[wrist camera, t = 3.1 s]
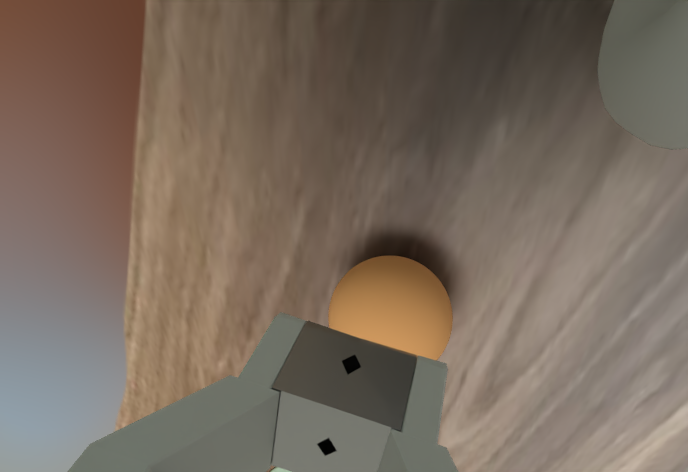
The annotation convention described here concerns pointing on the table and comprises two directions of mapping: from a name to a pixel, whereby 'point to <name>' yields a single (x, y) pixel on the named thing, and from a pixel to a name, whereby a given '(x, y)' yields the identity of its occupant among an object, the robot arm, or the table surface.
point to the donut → (647, 70)
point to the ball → (393, 306)
